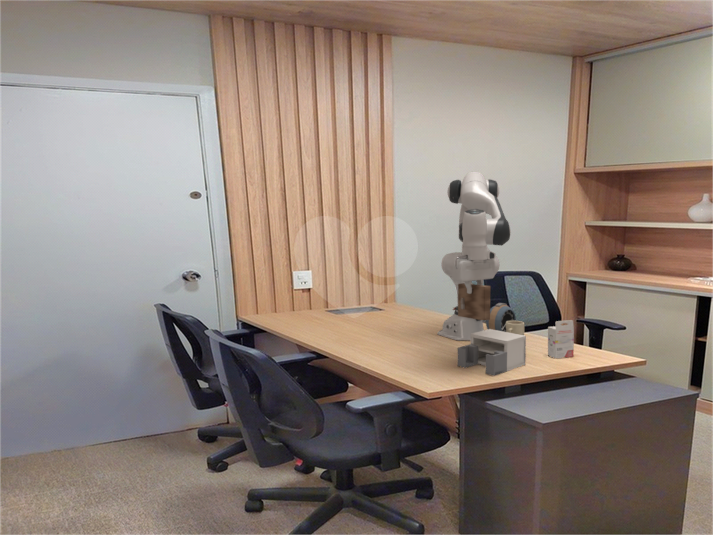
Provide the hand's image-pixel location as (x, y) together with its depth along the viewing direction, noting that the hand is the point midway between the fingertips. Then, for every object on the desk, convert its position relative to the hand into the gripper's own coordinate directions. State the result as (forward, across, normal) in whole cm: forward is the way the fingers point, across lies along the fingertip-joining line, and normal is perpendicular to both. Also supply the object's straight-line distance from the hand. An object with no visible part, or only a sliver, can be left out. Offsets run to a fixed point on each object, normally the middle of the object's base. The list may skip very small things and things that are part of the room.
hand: (474, 292), depth 184 cm
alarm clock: (+28, +38, +15) cm, 50 cm away
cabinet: (+28, +8, -2) cm, 29 cm away
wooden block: (+9, 0, 0) cm, 9 cm away
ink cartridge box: (+28, +38, -13) cm, 49 cm away
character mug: (+28, +28, +1) cm, 39 cm away
